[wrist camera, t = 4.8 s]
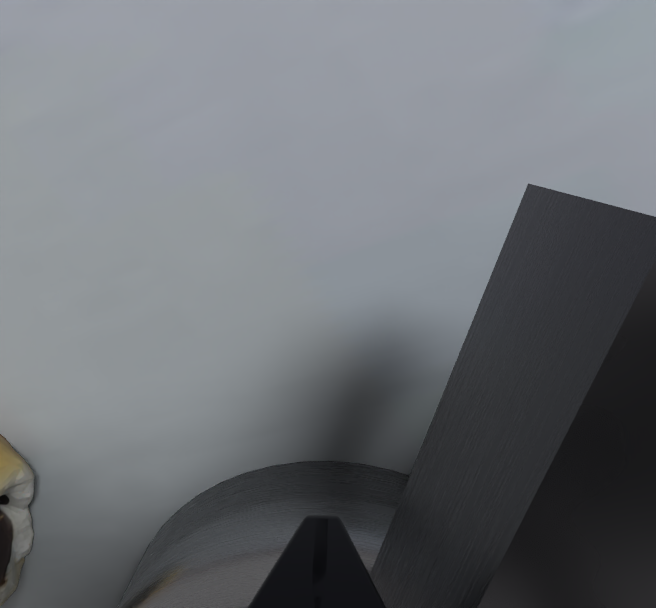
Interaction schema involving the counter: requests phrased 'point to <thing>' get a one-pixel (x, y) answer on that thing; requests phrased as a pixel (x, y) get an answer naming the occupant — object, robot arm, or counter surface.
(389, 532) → the lid
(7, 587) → the pastry
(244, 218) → the counter surface
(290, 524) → the pot
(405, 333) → the counter surface
